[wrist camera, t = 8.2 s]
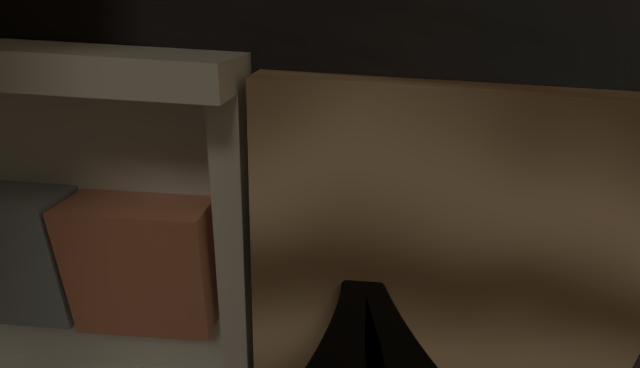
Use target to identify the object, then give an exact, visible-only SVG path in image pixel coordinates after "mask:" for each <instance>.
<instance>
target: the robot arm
mask: <svg viewBox="0 0 640 368" xmlns="http://www.w3.org/2000/svg"><path fill="white" fill-rule="evenodd" d="M305 368H438V367H437V366H436V364H435V363H434V362H433V361H432V359H431V358H430V357H429V356H428V354H427V353H426V352H425V350H424V349H423V347H422V346H421V345H420V343H419V342H418V341H417V339H416V338H415V336H414V335H413V333H412V332H411V330H410V329H409V327H408V326H407V324H406V323H405V321H404V319H403V318H402V316H401V315H400V313H399V311H398V309H397V308H396V306H395V304H394V302H393V301H392V299H391V297H390V295H389V293H388V291H387V289H386V287H385V285H384V284H383V283H382V282H369V281H354V280H344V281H343V282H342V283H341V292H340V296H339V300H338V303H337V306H336V309H335V311H334V314H333V316H332V319H331V321H330V324H329V326H328V328H327V330H326V332H325V334H324V336H323V338H322V340H321V342H320V344H319V345H318V347H317V349H316V351H315V352H314V354H313V356H312V357H311V359H310V361H309V362H308V364H307V365H306V367H305Z"/></svg>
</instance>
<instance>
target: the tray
mask: <svg viewBox="0 0 640 368" xmlns="http://www.w3.org/2000/svg"><path fill="white" fill-rule="evenodd" d="M249 75H251V53H250V52H233V51H216V50H199V49H181V48H164V47H147V46H129V45H112V44H95V43H77V42H60V41H43V40H25V39H8V38H0V180H7V181H21V182H36V183H50V184H64V185H77V186H78V191H79V190H80V189H82V188H83V189H101V190H119V191H137V192H155V193H174V194H192V195H210V196H211V207H212V221H213V235H214V249H215V263H216V277H217V291H218V305H219V319H218V322H217V324H216V327H215V329H214V331H213V334H212V336H211V339H210V341H209V342H208V341H194V340H179V339H165V338H150V337H136V336H121V335H107V334H92V333H78V332H77V331H76V327H75V325H74V326H73V327H72V328H71V329H70V330H68V329H56V328H44V327H31V326H19V325H7V324H0V368H254V360H253V323H252V286H251V250H250V213H249V176H248V139H247V102H246V77H248V76H249Z"/></svg>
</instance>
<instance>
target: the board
mask: <svg viewBox="0 0 640 368" xmlns="http://www.w3.org/2000/svg"><path fill="white" fill-rule="evenodd" d="M246 102H247V139H248V176H249V213H250V250H251V286H252V323H253V360H254V368H305V367H306V365H307V364H308V362H309V361H310V359H311V357H312V356H313V354H314V352H315V351H316V349H317V347H318V345H319V344H320V342H321V340H322V338H323V336H324V334H325V332H326V330H327V328H328V326H329V324H330V321H331V319H332V316H333V314H334V311H335V309H336V306H337V303H338V300H339V296H340V292H341V283H342V282H343V281H344V280H354V281H369V282H382V283H383V284H384V285H385V287H386V289H387V291H388V293H389V295H390V297H391V299H392V301H393V302H394V304H395V306H396V308H397V309H398V311H399V313H400V315H401V316H402V318H403V319H404V321H405V323H406V324H407V326H408V327H409V329H410V330H411V332H412V333H413V335H414V336H415V338H416V339H417V341H418V342H419V343H420V345H421V346H422V347H423V349H424V350H425V352H426V353H427V354H428V356H429V357H430V358H431V359H432V361H433V362H434V363H435V364H436V366H437V367H438V368H632V367H633V365H634V363H635V361H636V359H637V357H638V355H639V354H640V92H637V91H620V90H603V89H586V88H569V87H552V86H535V85H518V84H501V83H485V82H468V81H451V80H434V79H417V78H400V77H383V76H366V75H349V74H332V73H315V72H298V71H281V70H264V69H260V70H258V71H256V72H255V73H253V74H251V75H249V76H248V77H246Z"/></svg>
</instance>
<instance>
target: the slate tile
mask: <svg viewBox="0 0 640 368" xmlns="http://www.w3.org/2000/svg"><path fill="white" fill-rule="evenodd" d="M77 191H78V186H77V185H64V184H50V183H36V182H21V181H7V180H0V324H7V325H19V326H31V327H44V328H56V329H68V330H70V329H71V328H72V327H73V326H74V325H75V324H74V320H73V317H72V314H71V310H70V307H69V303H68V300H67V296H66V293H65V290H64V286H63V283H62V279H61V276H60V272H59V269H58V266H57V262H56V259H55V255H54V252H53V248H52V245H51V241H50V238H49V235H48V231H47V228H46V224H45V221H44V217H43V213H44V212H46V211H48V210H49V209H51V208H52V207H54V206H55V205H57V204H58V203H60V202H62V201H63V200H65V199H66V198H68V197H69V196H71V195H73V194H74V193H76V192H77Z"/></svg>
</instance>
